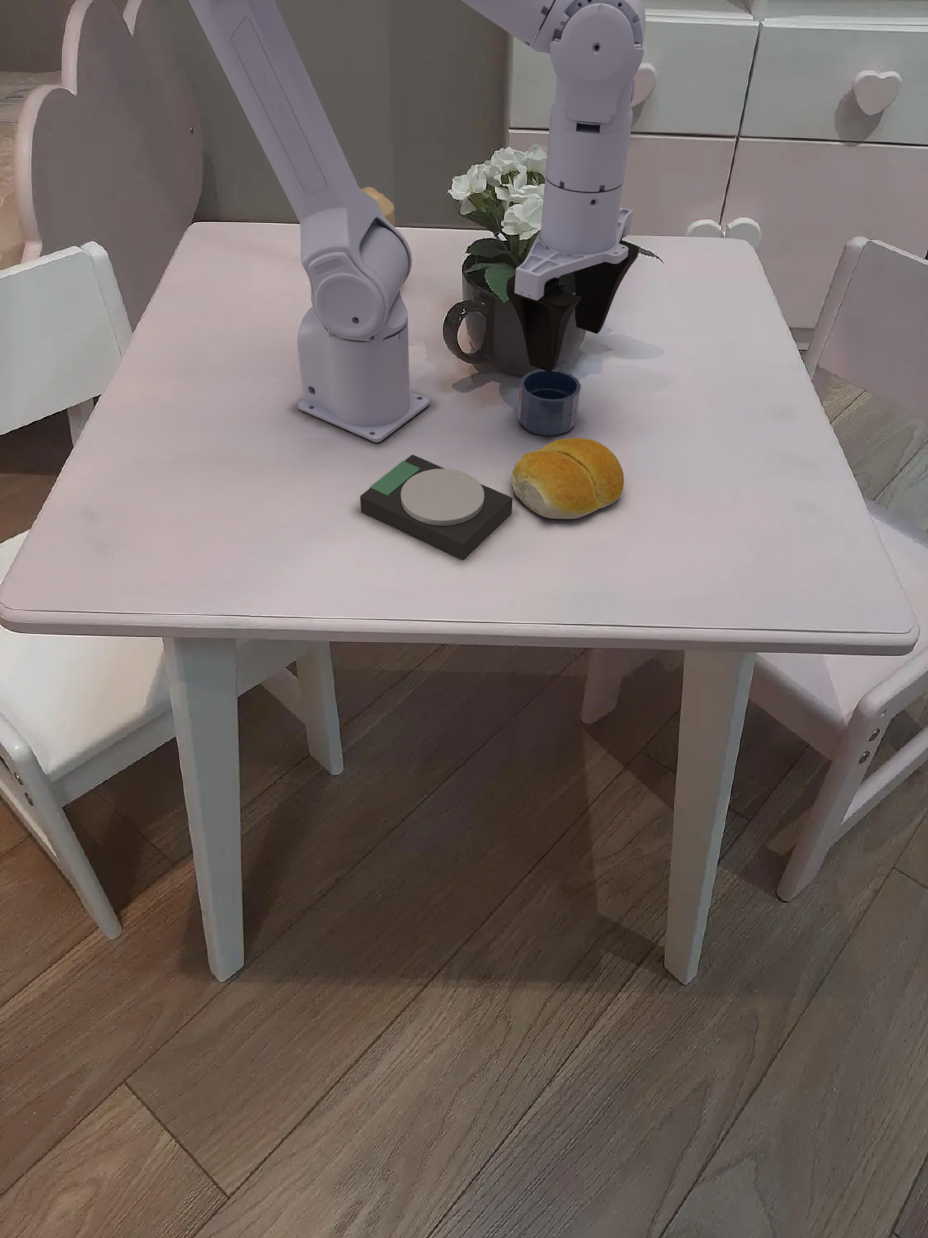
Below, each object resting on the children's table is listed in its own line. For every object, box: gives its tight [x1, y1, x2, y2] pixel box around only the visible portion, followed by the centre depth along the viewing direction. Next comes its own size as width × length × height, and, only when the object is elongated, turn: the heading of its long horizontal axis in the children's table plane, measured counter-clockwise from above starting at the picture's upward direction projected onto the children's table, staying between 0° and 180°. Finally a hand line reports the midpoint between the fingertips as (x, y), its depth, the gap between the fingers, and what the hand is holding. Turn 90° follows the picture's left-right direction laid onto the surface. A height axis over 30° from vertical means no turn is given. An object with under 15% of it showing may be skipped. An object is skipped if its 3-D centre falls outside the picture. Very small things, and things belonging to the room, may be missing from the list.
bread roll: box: [510, 437, 625, 520], centre depth 77 cm, size 8×9×4 cm
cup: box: [517, 368, 582, 437], centre depth 84 cm, size 5×5×4 cm
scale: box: [359, 454, 514, 560], centre depth 75 cm, size 10×7×2 cm
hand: (565, 347), depth 78 cm, fingers open, 7 cm apart
